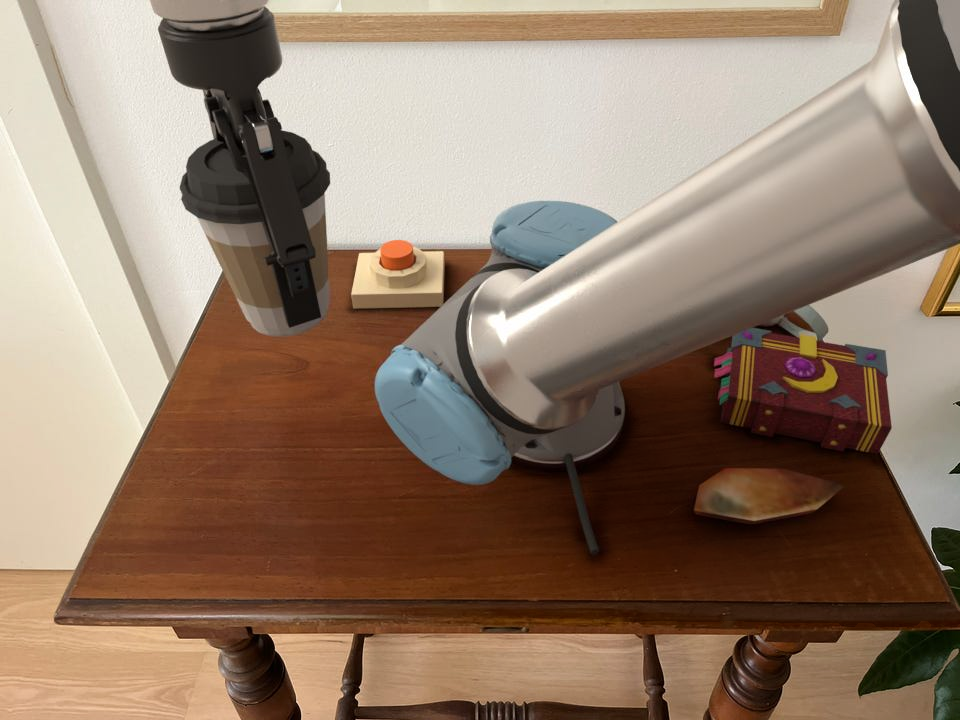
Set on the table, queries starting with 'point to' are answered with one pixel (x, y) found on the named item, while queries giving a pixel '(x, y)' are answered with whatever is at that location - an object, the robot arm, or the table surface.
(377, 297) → the button box
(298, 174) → the coffee cup
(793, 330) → the headphones
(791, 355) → the decorative book
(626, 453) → the table surface
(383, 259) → the button
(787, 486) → the decorative stone
